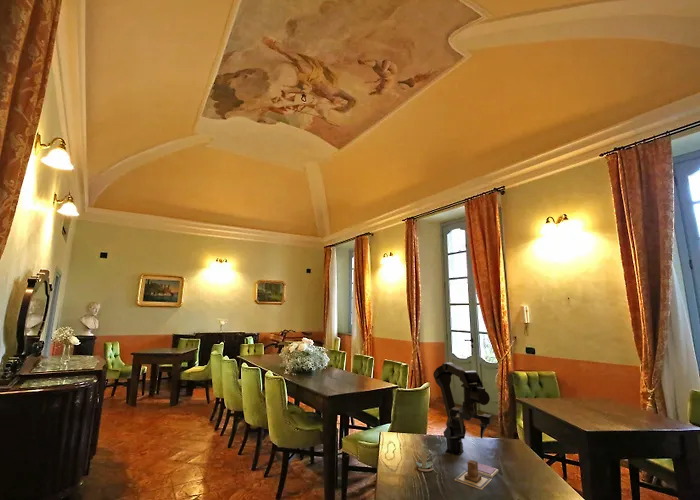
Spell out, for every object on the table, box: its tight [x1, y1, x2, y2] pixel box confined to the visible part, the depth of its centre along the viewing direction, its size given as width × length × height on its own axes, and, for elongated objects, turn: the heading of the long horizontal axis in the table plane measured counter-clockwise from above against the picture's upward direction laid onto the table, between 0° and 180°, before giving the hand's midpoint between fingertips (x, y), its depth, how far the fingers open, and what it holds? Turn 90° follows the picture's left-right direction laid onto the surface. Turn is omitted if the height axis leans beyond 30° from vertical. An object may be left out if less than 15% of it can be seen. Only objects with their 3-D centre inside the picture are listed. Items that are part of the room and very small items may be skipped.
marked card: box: [454, 469, 492, 491], centre depth 143 cm, size 11×11×1 cm
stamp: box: [464, 459, 481, 483], centre depth 144 cm, size 5×5×6 cm
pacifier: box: [415, 451, 434, 472], centre depth 152 cm, size 7×6×6 cm
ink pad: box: [478, 462, 499, 479], centre depth 151 cm, size 10×8×1 cm
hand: (471, 435), depth 159 cm, fingers open, 9 cm apart
